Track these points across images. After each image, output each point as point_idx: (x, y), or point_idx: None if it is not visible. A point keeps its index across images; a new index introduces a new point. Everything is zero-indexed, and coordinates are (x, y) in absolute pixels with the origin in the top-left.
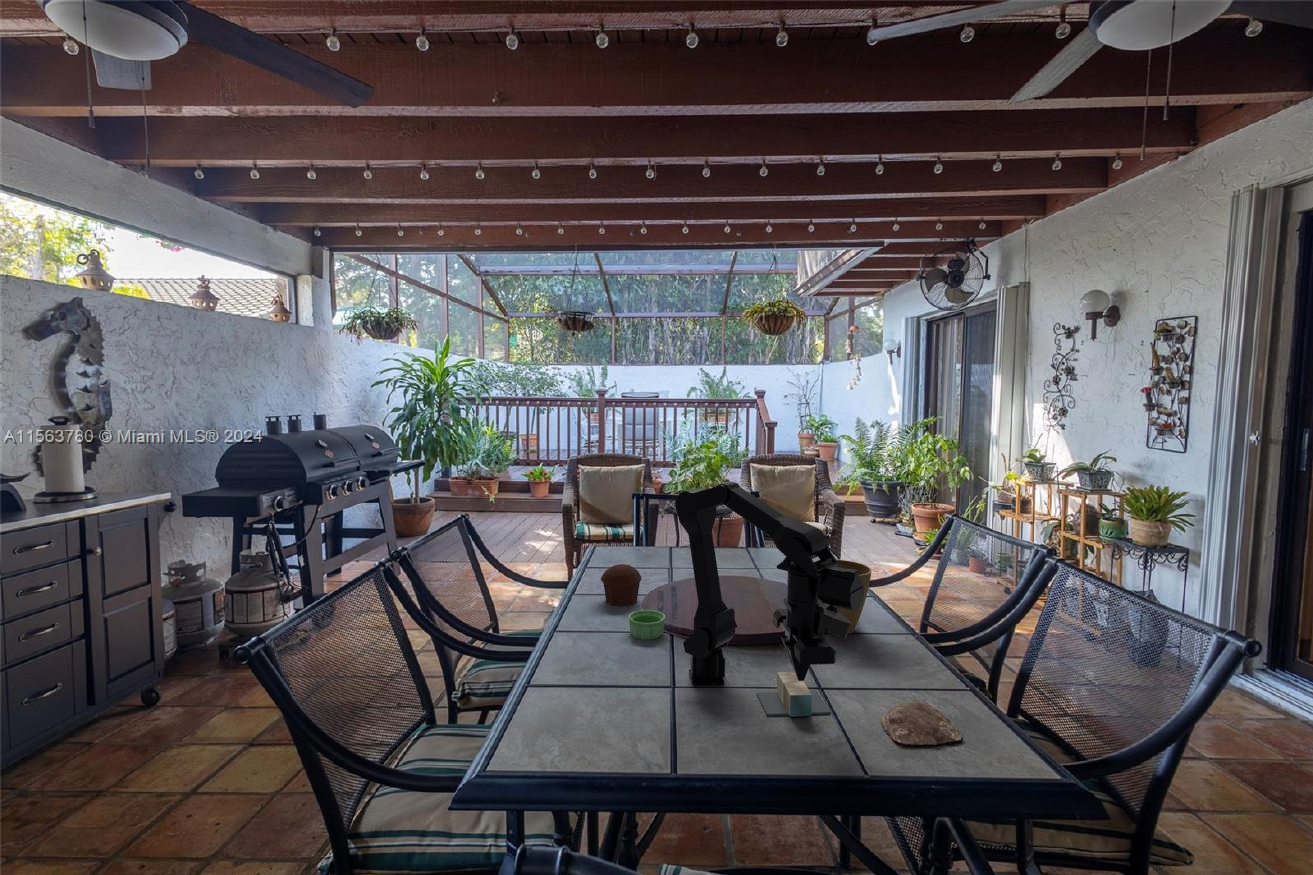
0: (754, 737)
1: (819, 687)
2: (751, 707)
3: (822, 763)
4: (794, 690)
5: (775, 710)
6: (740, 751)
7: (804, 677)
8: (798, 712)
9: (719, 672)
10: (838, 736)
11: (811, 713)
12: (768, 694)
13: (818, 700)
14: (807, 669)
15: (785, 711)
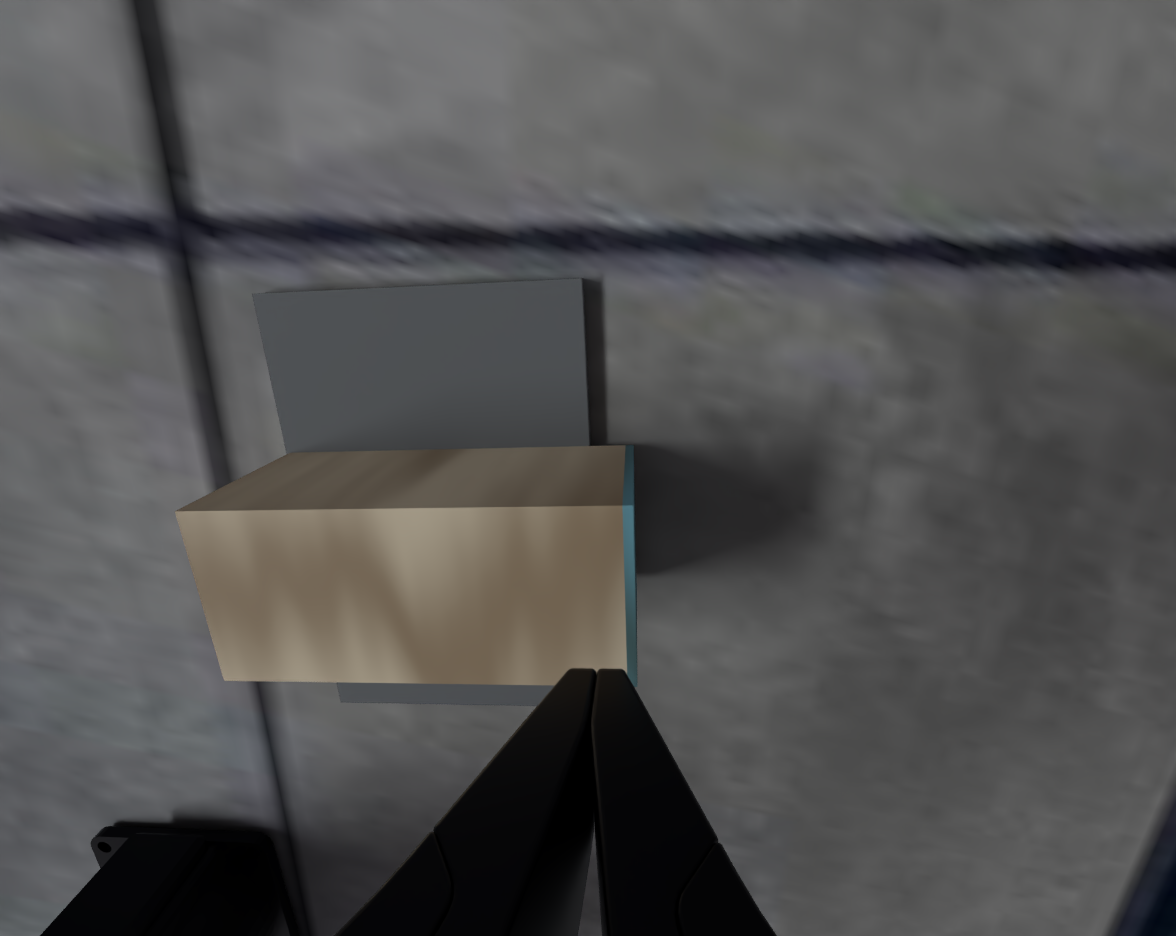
0: (815, 800)
1: (170, 238)
2: None
3: (1169, 525)
4: (546, 632)
5: None
6: (930, 881)
7: (636, 700)
8: (635, 546)
9: (194, 901)
10: (890, 315)
11: (588, 428)
12: None
13: (407, 323)
14: (691, 796)
15: None
